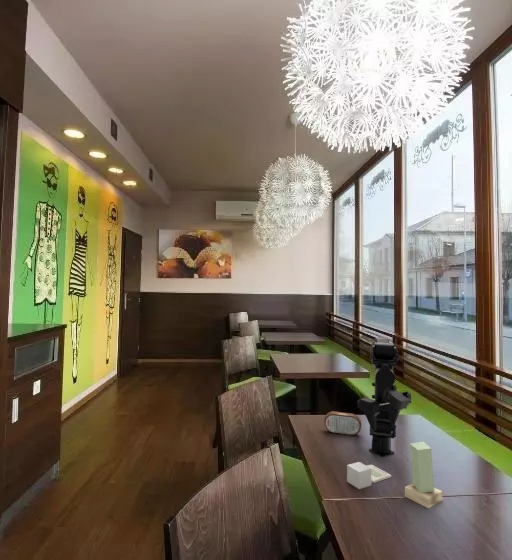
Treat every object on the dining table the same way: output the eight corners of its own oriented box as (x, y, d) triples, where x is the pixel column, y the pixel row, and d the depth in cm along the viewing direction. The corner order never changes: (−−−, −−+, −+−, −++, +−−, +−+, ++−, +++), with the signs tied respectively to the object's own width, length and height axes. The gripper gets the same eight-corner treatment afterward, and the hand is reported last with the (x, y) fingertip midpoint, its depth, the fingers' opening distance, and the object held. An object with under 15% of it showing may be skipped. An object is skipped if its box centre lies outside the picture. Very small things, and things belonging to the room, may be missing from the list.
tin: (361, 434, 148) (361, 413, 149) (361, 437, 145) (361, 416, 146) (324, 430, 152) (324, 409, 153) (323, 432, 149) (323, 412, 150)
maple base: (418, 490, 107) (418, 480, 107) (442, 502, 101) (442, 491, 101) (404, 497, 102) (404, 486, 103) (428, 510, 97) (428, 498, 97)
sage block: (413, 484, 104) (410, 443, 103) (426, 483, 104) (423, 441, 104) (420, 493, 100) (417, 450, 99) (434, 491, 100) (431, 448, 100)
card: (371, 466, 120) (371, 463, 120) (391, 476, 113) (391, 474, 113) (353, 471, 116) (353, 469, 116) (373, 483, 109) (373, 480, 109)
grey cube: (358, 478, 112) (359, 461, 113) (371, 485, 108) (371, 468, 108) (346, 481, 110) (347, 465, 110) (359, 489, 106) (359, 472, 106)
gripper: (384, 389, 108) (384, 442, 108) (423, 383, 118) (422, 432, 117) (356, 381, 118) (356, 430, 117) (394, 376, 127) (394, 421, 127)
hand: (383, 428), depth 119 cm, fingers open, 9 cm apart
